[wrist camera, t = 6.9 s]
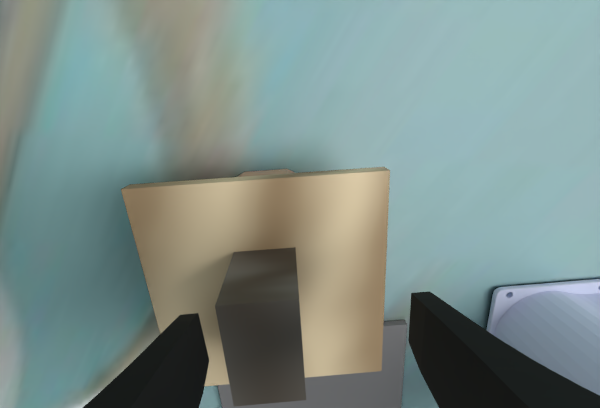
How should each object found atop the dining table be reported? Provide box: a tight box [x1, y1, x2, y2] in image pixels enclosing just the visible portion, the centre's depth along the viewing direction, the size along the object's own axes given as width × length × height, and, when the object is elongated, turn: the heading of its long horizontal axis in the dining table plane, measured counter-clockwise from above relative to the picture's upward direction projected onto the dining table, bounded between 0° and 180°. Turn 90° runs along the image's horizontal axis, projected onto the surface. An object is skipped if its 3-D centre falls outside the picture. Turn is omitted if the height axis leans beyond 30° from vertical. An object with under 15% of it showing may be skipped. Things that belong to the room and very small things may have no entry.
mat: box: [218, 320, 407, 408], centre depth 25 cm, size 15×15×1 cm
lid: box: [121, 167, 390, 406], centre depth 14 cm, size 12×12×5 cm
